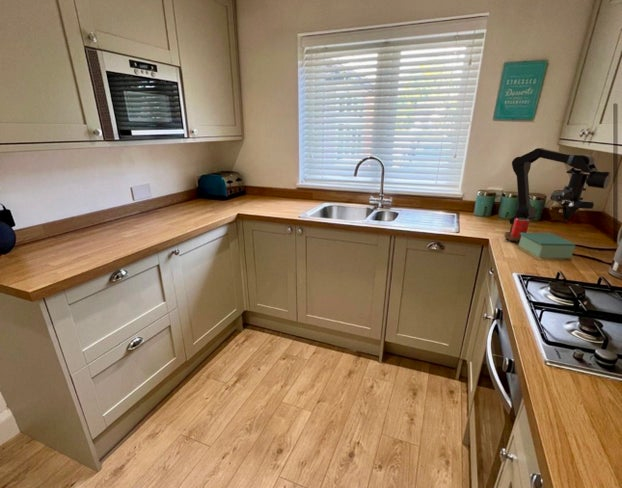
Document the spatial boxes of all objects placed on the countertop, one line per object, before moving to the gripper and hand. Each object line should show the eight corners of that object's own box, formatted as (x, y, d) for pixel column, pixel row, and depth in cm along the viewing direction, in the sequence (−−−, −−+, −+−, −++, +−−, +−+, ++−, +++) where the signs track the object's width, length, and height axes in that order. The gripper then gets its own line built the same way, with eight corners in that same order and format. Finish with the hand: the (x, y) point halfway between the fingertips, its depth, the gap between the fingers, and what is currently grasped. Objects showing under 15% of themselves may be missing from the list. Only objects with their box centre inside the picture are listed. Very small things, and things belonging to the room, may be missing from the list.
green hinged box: (538, 259, 139) (542, 245, 136) (518, 247, 152) (521, 234, 150) (570, 260, 139) (575, 246, 136) (547, 247, 152) (551, 234, 150)
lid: (540, 245, 136) (541, 243, 136) (519, 234, 150) (520, 232, 149) (575, 245, 136) (575, 244, 136) (551, 234, 150) (551, 233, 150)
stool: (499, 239, 162) (501, 232, 161) (517, 239, 163) (519, 232, 161) (509, 245, 154) (511, 238, 153) (528, 245, 154) (530, 238, 153)
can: (508, 233, 160) (512, 217, 156) (520, 233, 160) (524, 217, 157) (515, 237, 154) (520, 220, 151) (528, 237, 154) (532, 220, 151)
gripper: (544, 180, 153) (534, 213, 158) (574, 188, 135) (562, 224, 141) (567, 181, 153) (557, 214, 159) (600, 189, 135) (587, 225, 141)
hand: (565, 219), depth 150 cm, fingers closed
